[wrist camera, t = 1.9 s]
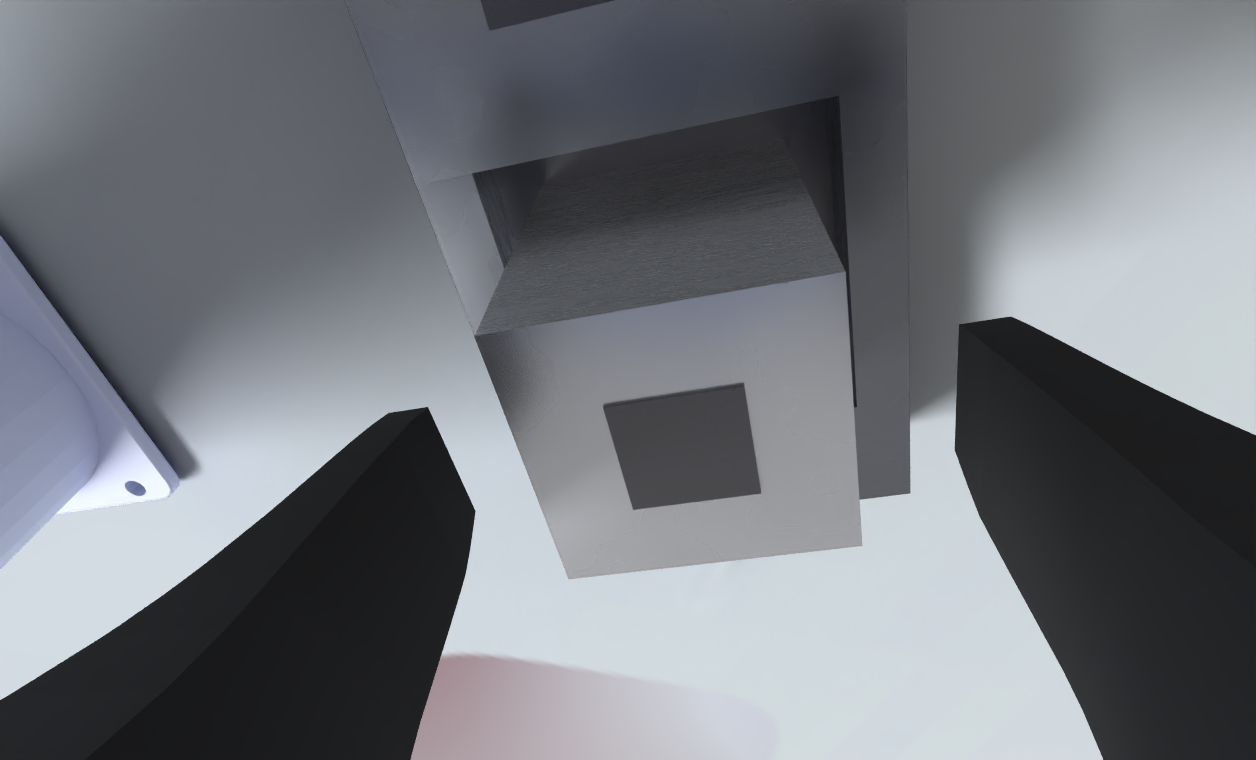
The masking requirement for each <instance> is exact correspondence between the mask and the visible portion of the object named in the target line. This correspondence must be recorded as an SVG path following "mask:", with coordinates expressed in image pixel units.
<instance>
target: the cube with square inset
mask: <svg viewBox="0 0 1256 760" xmlns="http://www.w3.org/2000/svg"><path fill="white" fill-rule="evenodd" d="M474 337H475V339H476V342H477V344H478V347H479V349H480V352H481V355H482V357H483V360H484V362H485V365H486V367H487V370H488V373H489V375H490V378H491V380H492V383H493V385H494V388H495V391H496V393H497V396H498V398H499V401H500V403H501V406H502V409H503V411H504V414H505V416H506V419H507V422H508V424H509V427H510V429H511V432H512V434H513V437H514V440H515V442H516V445H517V447H518V450H519V452H520V455H521V458H522V460H523V463H524V465H525V468H526V470H527V473H528V476H529V478H530V481H531V483H532V486H533V488H534V491H535V494H536V496H537V499H538V501H539V504H540V507H541V509H542V512H543V514H544V517H545V519H546V522H547V525H548V527H549V530H550V532H551V535H552V537H553V540H554V543H555V545H556V548H557V550H558V553H559V555H560V558H561V561H562V563H563V566H564V568H565V571H566V573H567V576H568V579H575V578H583V577H592V576H601V575H610V574H619V573H627V572H636V571H645V570H654V569H663V568H671V567H680V566H689V565H698V564H707V563H715V562H724V561H733V560H742V559H751V558H759V557H768V556H777V555H786V554H795V553H803V552H812V551H821V550H830V549H839V548H847V547H856V546H862V535H861V518H860V502H859V485H858V469H857V452H856V436H855V419H854V403H853V386H852V370H851V353H850V337H849V320H848V304H847V287H846V272H845V270H844V267H843V265H842V263H841V261H840V259H839V257H838V255H837V253H836V251H835V248H834V246H833V244H832V242H831V240H830V238H829V236H828V234H827V231H826V229H825V227H824V225H823V223H822V221H821V219H820V217H819V215H818V212H817V210H816V208H815V206H814V204H813V202H812V200H811V198H810V196H809V193H808V191H807V189H806V187H805V185H804V183H803V181H802V179H801V176H800V174H799V172H798V170H797V168H796V166H795V164H794V162H793V160H792V157H791V155H790V153H789V151H788V149H787V147H786V145H785V143H784V141H783V138H782V137H779V138H774V139H770V140H765V141H760V142H755V143H750V144H745V145H740V146H735V147H731V148H726V149H721V150H716V151H711V152H706V153H701V154H697V155H692V156H687V157H682V158H677V159H672V160H667V161H663V162H658V163H653V164H648V165H643V166H638V167H633V168H628V169H624V170H619V171H614V172H609V173H604V174H599V175H594V176H590V177H585V178H580V179H575V180H570V181H565V182H560V183H556V184H551V185H546V186H542V187H541V189H540V191H539V193H538V196H537V198H536V200H535V202H534V205H533V207H532V209H531V211H530V213H529V216H528V218H527V220H526V222H525V225H524V227H523V229H522V231H521V234H520V236H519V238H518V240H517V242H516V245H515V247H514V249H513V251H512V254H511V256H510V258H509V260H508V262H507V265H506V267H505V269H504V271H503V274H502V276H501V278H500V280H499V283H498V285H497V287H496V289H495V291H494V294H493V296H492V298H491V300H490V303H489V305H488V307H487V309H486V311H485V314H484V316H483V318H482V320H481V323H480V325H479V327H478V329H477V331H476V334H475V336H474Z"/></svg>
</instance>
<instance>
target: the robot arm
mask: <svg viewBox="0 0 1256 760" xmlns="http://www.w3.org/2000/svg"><path fill="white" fill-rule="evenodd" d="M955 452H956V455H957V457H958V460H959V463H960V466H961V468H962V471H963V474H964V477H965V479H966V482H967V485H968V488H969V490H970V493H971V495H972V498H973V500H974V503H975V506H976V508H977V511H978V513H979V516H980V518H981V520H982V522H983V523H984V525H985V527H986V529H987V531H988V533H989V535H990V537H991V539H992V541H993V542H994V544H995V546H996V548H997V550H998V552H999V554H1000V555H1001V557H1002V559H1003V561H1004V563H1005V565H1006V567H1007V568H1008V570H1009V572H1010V574H1011V576H1012V578H1013V579H1014V581H1015V583H1016V585H1017V587H1018V589H1019V590H1020V592H1021V594H1022V596H1023V598H1024V600H1025V601H1026V603H1027V605H1028V607H1029V609H1030V611H1031V612H1032V614H1033V616H1034V618H1035V620H1036V622H1037V623H1038V625H1039V627H1040V629H1041V631H1042V633H1043V634H1044V636H1045V638H1046V640H1047V642H1048V644H1049V645H1050V647H1051V649H1052V651H1053V653H1054V655H1055V656H1056V658H1057V660H1058V662H1059V664H1060V666H1061V667H1062V669H1063V671H1064V673H1065V675H1066V677H1067V679H1068V681H1069V683H1070V685H1071V687H1072V689H1073V691H1074V693H1075V696H1076V698H1077V700H1078V702H1079V704H1080V706H1081V708H1082V710H1083V712H1084V714H1085V717H1086V719H1087V722H1088V724H1089V726H1090V729H1091V731H1092V733H1093V736H1094V738H1095V741H1096V743H1097V745H1098V748H1099V750H1100V752H1101V755H1102V757H1103V760H1256V435H1254V434H1251V433H1249V432H1247V431H1245V430H1242V429H1240V428H1238V427H1236V426H1233V425H1231V424H1229V423H1226V422H1224V421H1222V420H1220V419H1217V418H1215V417H1213V416H1210V415H1208V414H1206V413H1204V412H1202V411H1200V410H1197V409H1195V408H1193V407H1191V406H1189V405H1187V404H1185V403H1183V402H1180V401H1178V400H1176V399H1174V398H1172V397H1170V396H1168V395H1166V394H1164V393H1162V392H1160V391H1157V390H1155V389H1153V388H1151V387H1149V386H1147V385H1145V384H1143V383H1141V382H1139V381H1137V380H1135V379H1133V378H1131V377H1129V376H1127V375H1125V374H1123V373H1121V372H1119V371H1118V370H1116V369H1114V368H1112V367H1110V366H1108V365H1106V364H1104V363H1102V362H1100V361H1098V360H1096V359H1094V358H1092V357H1090V356H1089V355H1087V354H1085V353H1083V352H1081V351H1079V350H1077V349H1075V348H1073V347H1071V346H1069V345H1067V344H1066V343H1064V342H1062V341H1060V340H1058V339H1056V338H1054V337H1052V336H1050V335H1048V334H1046V333H1044V332H1042V331H1040V330H1038V329H1036V328H1034V327H1032V326H1030V325H1028V324H1026V323H1024V322H1022V321H1020V320H1017V319H1015V318H1013V317H1005V318H998V319H992V320H986V321H979V322H973V323H966V324H960V325H959V342H958V370H957V399H956V428H955ZM178 486H179V478H178V476H177V474H176V473H175V471H174V470H173V469H172V467H171V466H170V465H169V463H168V462H167V460H166V459H165V458H164V456H163V455H162V454H161V452H160V451H159V450H158V448H157V447H156V446H155V444H154V443H153V441H152V440H151V439H150V437H149V436H148V435H147V433H146V432H145V431H144V429H143V428H142V427H141V425H140V424H139V423H138V421H137V420H136V418H135V417H134V416H133V414H132V413H131V412H130V410H129V409H128V408H127V406H126V405H125V404H124V402H123V401H122V399H121V398H120V397H119V395H118V394H117V393H116V391H115V390H114V389H113V387H112V386H111V385H110V383H109V382H108V380H107V379H106V378H105V376H104V375H103V374H102V372H101V371H100V370H99V368H98V367H97V366H96V364H95V363H94V361H93V360H92V359H91V357H90V356H89V355H88V353H87V352H86V351H85V349H84V348H83V347H82V345H81V344H80V342H79V341H78V340H77V338H76V337H75V336H74V334H73V333H72V332H71V330H70V329H69V328H68V326H67V325H66V323H65V322H64V321H63V319H62V318H61V317H60V315H59V314H58V313H57V311H56V310H55V309H54V307H53V306H52V305H51V303H50V302H49V300H48V299H47V298H46V296H45V295H44V294H43V292H42V291H41V290H40V288H39V287H38V286H37V284H36V283H35V281H34V280H33V279H32V277H31V276H30V275H29V273H28V272H27V271H26V269H25V268H24V267H23V265H22V264H21V262H20V261H19V260H18V258H17V257H16V256H15V254H14V253H13V252H12V250H11V249H10V248H9V246H8V245H7V243H6V242H5V241H4V239H3V238H2V237H1V235H0V569H1V568H2V567H3V566H4V565H5V564H6V563H7V562H8V561H9V560H10V559H11V558H12V557H13V556H14V555H15V554H16V553H17V552H18V551H19V550H20V549H21V548H22V547H23V546H24V545H25V544H26V543H27V542H28V541H29V540H30V539H31V538H32V537H33V536H34V535H35V534H36V533H37V532H38V531H39V530H40V529H41V528H42V527H43V526H44V525H45V524H46V523H47V522H48V521H49V520H50V519H51V518H52V517H53V516H54V515H56V514H62V513H69V512H76V511H83V510H90V509H97V508H104V507H110V506H117V505H124V504H131V503H138V502H145V501H152V500H158V499H164V498H167V497H170V496H171V494H172V493H173V492H174V491H175V490H176V488H177V487H178ZM474 518H475V509H474V507H473V505H472V503H471V500H470V498H469V496H468V494H467V492H466V490H465V487H464V485H463V483H462V481H461V479H460V476H459V474H458V472H457V470H456V468H455V465H454V463H453V461H452V459H451V457H450V455H449V452H448V450H447V448H446V446H445V444H444V441H443V439H442V437H441V435H440V433H439V430H438V428H437V426H436V424H435V422H434V420H433V417H432V415H431V413H430V411H429V409H428V407H425V408H419V409H413V410H406V411H400V412H393V413H388V414H387V415H385V416H384V417H383V418H381V419H380V420H378V421H377V422H375V423H374V424H373V425H371V426H370V427H369V428H368V429H366V430H365V431H364V432H363V433H361V434H360V435H359V436H358V437H356V438H355V439H354V440H353V441H352V442H350V443H349V444H348V445H347V446H346V447H345V448H343V449H342V450H341V451H340V452H339V453H337V454H336V455H335V456H334V457H333V458H332V459H331V460H329V461H328V462H327V463H326V464H325V465H324V466H322V467H321V468H320V469H319V470H318V471H317V472H315V473H314V474H313V475H312V476H311V477H310V478H308V479H307V480H306V481H305V482H304V483H303V484H301V485H300V486H299V487H298V488H297V489H296V490H295V491H293V492H292V493H291V494H290V495H289V496H288V497H286V498H285V499H284V500H283V501H282V502H281V503H279V504H278V505H277V506H276V507H275V508H274V509H272V510H271V511H270V512H269V513H268V514H266V515H265V516H264V517H263V518H261V519H260V520H259V521H258V522H256V523H255V524H254V525H253V526H251V527H250V528H249V529H248V530H246V531H245V532H244V533H243V534H241V535H240V536H239V537H238V538H237V539H235V540H234V541H233V542H232V543H230V544H229V545H228V546H227V547H225V548H224V549H223V550H222V551H220V552H219V553H218V554H217V555H215V556H214V557H213V558H212V559H211V560H209V561H208V562H207V563H206V564H204V565H203V566H202V567H200V568H199V569H198V570H196V571H195V572H194V573H192V574H191V575H190V576H188V577H187V578H186V579H184V580H183V581H182V582H180V583H179V584H178V585H176V586H175V587H174V588H172V589H171V590H169V591H168V592H167V593H165V594H164V595H163V596H161V597H160V598H158V599H157V600H155V601H154V602H153V603H151V604H150V605H148V606H147V607H145V608H144V609H143V610H141V611H140V612H138V613H137V614H135V615H134V616H132V617H131V618H130V619H128V620H127V621H125V622H124V623H122V624H121V625H120V626H118V627H117V628H115V629H114V630H112V631H111V632H109V633H108V634H106V635H105V636H103V637H102V638H100V639H98V640H97V641H95V642H94V643H92V644H90V645H89V646H87V647H86V648H84V649H82V650H81V651H79V652H77V653H76V654H74V655H73V656H71V657H69V658H68V659H66V660H65V661H63V662H61V663H60V664H58V665H57V666H55V667H53V668H52V669H50V670H49V671H47V672H45V673H44V674H42V675H41V676H39V677H37V678H36V679H34V680H33V681H31V682H29V683H28V684H26V685H25V686H23V687H21V688H20V689H18V690H17V691H15V692H13V693H12V694H10V695H8V696H7V697H5V698H3V699H1V700H0V760H410V759H411V755H412V751H413V747H414V743H415V740H416V736H417V732H418V729H419V725H420V721H421V718H422V715H423V712H424V708H425V705H426V702H427V699H428V696H429V692H430V689H431V686H432V683H433V680H434V676H435V673H436V670H437V667H438V664H439V660H440V657H441V654H442V651H443V648H444V644H445V641H446V638H447V635H448V632H449V628H450V625H451V622H452V618H453V615H454V612H455V608H456V605H457V602H458V599H459V595H460V592H461V588H462V585H463V581H464V578H465V574H466V569H467V563H468V558H469V552H470V546H471V539H472V532H473V525H474Z"/></svg>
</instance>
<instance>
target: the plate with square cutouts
mask: <svg viewBox="0 0 1256 760" xmlns="http://www.w3.org/2000/svg"><path fill="white" fill-rule="evenodd" d="M344 1H345V3H346V6H347V8H348V11H349V13H350V16H351V19H352V21H353V24H354V26H355V29H356V31H357V34H358V37H359V39H360V42H361V44H362V47H363V50H364V52H365V55H366V57H367V60H368V62H369V65H370V68H371V70H372V73H373V75H374V78H375V80H376V83H377V86H378V88H379V91H380V93H381V96H382V98H383V101H384V104H385V106H386V109H387V111H388V114H389V117H390V119H391V122H392V124H393V127H394V129H395V132H396V135H397V137H398V140H399V142H400V145H401V147H402V150H403V153H404V155H405V158H406V160H407V163H408V166H409V168H410V171H411V173H412V176H413V178H414V181H415V184H416V186H417V189H418V191H419V194H420V196H421V199H422V202H423V204H424V207H425V209H426V212H427V214H428V217H429V220H430V222H431V225H432V227H433V230H434V233H435V235H436V238H437V240H438V243H439V245H440V248H441V251H442V253H443V256H444V258H445V261H446V263H447V266H448V269H449V271H450V274H451V276H452V279H453V281H454V284H455V287H456V289H457V292H458V294H459V297H460V300H461V302H462V305H463V307H464V310H465V312H466V315H467V318H468V320H469V323H470V325H471V328H472V330H473V333H474V336H475V334H476V331H477V329H478V327H479V325H480V323H481V320H482V318H483V316H484V314H485V311H486V309H487V307H488V305H489V303H490V300H491V298H492V296H493V294H494V291H495V289H496V287H497V285H498V283H499V280H500V278H501V276H502V274H503V271H504V269H505V267H506V265H507V262H508V260H509V258H510V256H511V254H512V251H513V249H514V247H515V245H516V242H517V240H518V238H519V236H520V234H521V231H522V229H523V227H524V225H525V222H526V220H527V218H528V216H529V213H530V211H531V209H532V207H533V205H534V202H535V200H536V198H537V196H538V193H539V191H540V189H541V187H542V186H546V185H551V184H556V183H560V182H565V181H570V180H575V179H580V178H585V177H590V176H594V175H599V174H604V173H609V172H614V171H619V170H624V169H628V168H633V167H638V166H643V165H648V164H653V163H658V162H663V161H667V160H672V159H677V158H682V157H687V156H692V155H697V154H701V153H706V152H711V151H716V150H721V149H726V148H731V147H735V146H740V145H745V144H750V143H755V142H760V141H765V140H770V139H774V138H779V137H782V138H783V141H784V143H785V145H786V147H787V149H788V151H789V153H790V155H791V157H792V160H793V162H794V164H795V166H796V168H797V170H798V172H799V174H800V176H801V179H802V181H803V183H804V185H805V187H806V189H807V191H808V193H809V196H810V198H811V200H812V202H813V204H814V206H815V208H816V210H817V212H818V215H819V217H820V219H821V221H822V223H823V225H824V227H825V229H826V231H827V234H828V236H829V238H830V240H831V242H832V244H833V246H834V248H835V251H836V253H837V255H838V257H839V259H840V261H841V263H842V265H843V267H844V270H845V272H846V287H847V304H848V320H849V337H850V353H851V370H852V386H853V403H854V419H855V436H856V452H857V469H858V485H859V500H860V499H868V498H876V497H884V496H892V495H900V494H908V493H910V398H909V283H908V168H907V53H906V0H344Z"/></svg>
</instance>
